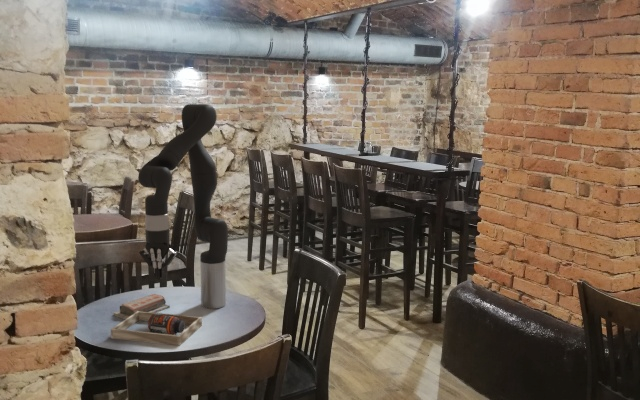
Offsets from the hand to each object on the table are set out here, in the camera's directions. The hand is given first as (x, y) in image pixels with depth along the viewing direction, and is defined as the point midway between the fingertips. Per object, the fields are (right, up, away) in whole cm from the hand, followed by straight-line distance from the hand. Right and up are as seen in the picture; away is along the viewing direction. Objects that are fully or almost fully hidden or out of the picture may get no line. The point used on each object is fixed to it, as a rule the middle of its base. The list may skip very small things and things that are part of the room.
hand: (159, 278), depth 212 cm
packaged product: (-12, -15, +23) cm, 30 cm away
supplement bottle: (-4, -15, +3) cm, 16 cm away
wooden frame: (-1, -18, +3) cm, 19 cm away
